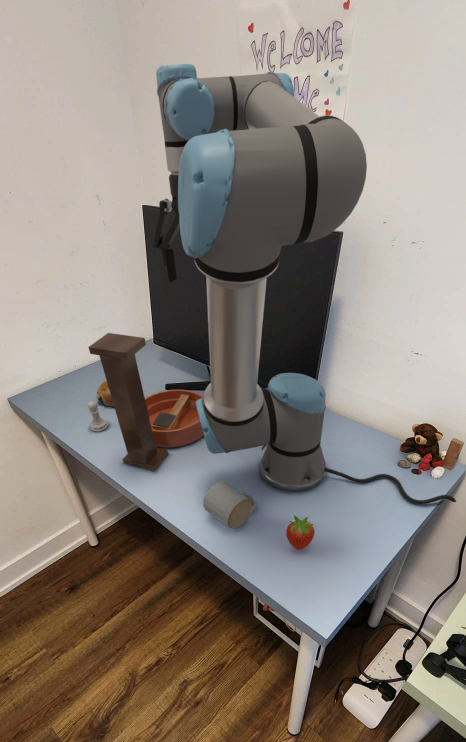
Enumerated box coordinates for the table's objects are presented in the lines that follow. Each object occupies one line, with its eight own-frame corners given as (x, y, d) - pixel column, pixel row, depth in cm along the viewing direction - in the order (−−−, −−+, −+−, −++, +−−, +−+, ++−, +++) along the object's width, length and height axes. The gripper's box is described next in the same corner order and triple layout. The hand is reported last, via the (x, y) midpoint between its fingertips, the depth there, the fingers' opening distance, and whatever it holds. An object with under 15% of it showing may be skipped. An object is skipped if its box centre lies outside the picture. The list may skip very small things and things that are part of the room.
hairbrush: (194, 401, 119) (192, 390, 116) (171, 438, 112) (168, 427, 108) (179, 398, 121) (176, 387, 118) (155, 434, 113) (151, 424, 110)
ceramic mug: (230, 536, 87) (229, 511, 82) (204, 517, 91) (200, 491, 86) (264, 510, 92) (265, 484, 87) (238, 492, 97) (237, 466, 91)
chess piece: (87, 430, 117) (78, 405, 112) (97, 421, 120) (88, 396, 115) (102, 433, 116) (93, 408, 110) (111, 423, 119) (103, 398, 113)
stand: (168, 454, 108) (144, 337, 86) (154, 471, 103) (126, 352, 82) (138, 447, 111) (108, 332, 89) (123, 463, 106) (88, 347, 85)
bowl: (222, 413, 120) (220, 396, 116) (190, 455, 107) (187, 438, 103) (160, 401, 126) (157, 384, 122) (123, 440, 113) (118, 423, 109)
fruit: (291, 560, 82) (293, 533, 77) (281, 540, 86) (283, 513, 80) (316, 552, 83) (320, 526, 78) (306, 534, 87) (309, 507, 81)
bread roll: (125, 417, 127) (131, 396, 122) (91, 406, 124) (95, 383, 119) (132, 400, 134) (137, 379, 129) (99, 388, 131) (104, 366, 126)
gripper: (249, 168, 85) (251, 281, 100) (143, 169, 93) (160, 273, 108) (235, 175, 81) (239, 292, 96) (125, 175, 88) (145, 283, 103)
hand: (197, 282), depth 102 cm, fingers open, 13 cm apart
